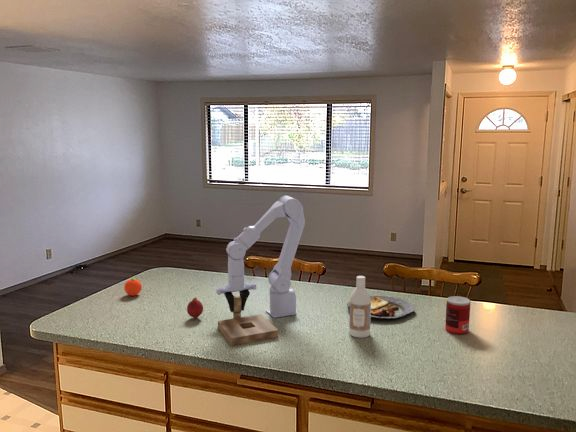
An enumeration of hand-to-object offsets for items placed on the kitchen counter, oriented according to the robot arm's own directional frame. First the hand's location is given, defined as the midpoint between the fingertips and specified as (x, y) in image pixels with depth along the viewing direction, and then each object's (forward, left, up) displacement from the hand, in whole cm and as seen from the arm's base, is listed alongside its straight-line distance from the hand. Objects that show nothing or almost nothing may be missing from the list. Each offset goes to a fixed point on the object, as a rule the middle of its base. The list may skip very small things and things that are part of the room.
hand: (236, 310), depth 183 cm
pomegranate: (+14, -6, -3) cm, 16 cm away
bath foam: (-33, +31, -3) cm, 45 cm away
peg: (0, 0, -3) cm, 3 cm away
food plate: (-52, +15, -3) cm, 54 cm away
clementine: (+31, -43, -3) cm, 53 cm away
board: (+1, +14, -3) cm, 14 cm away
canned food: (-65, +42, -3) cm, 77 cm away
